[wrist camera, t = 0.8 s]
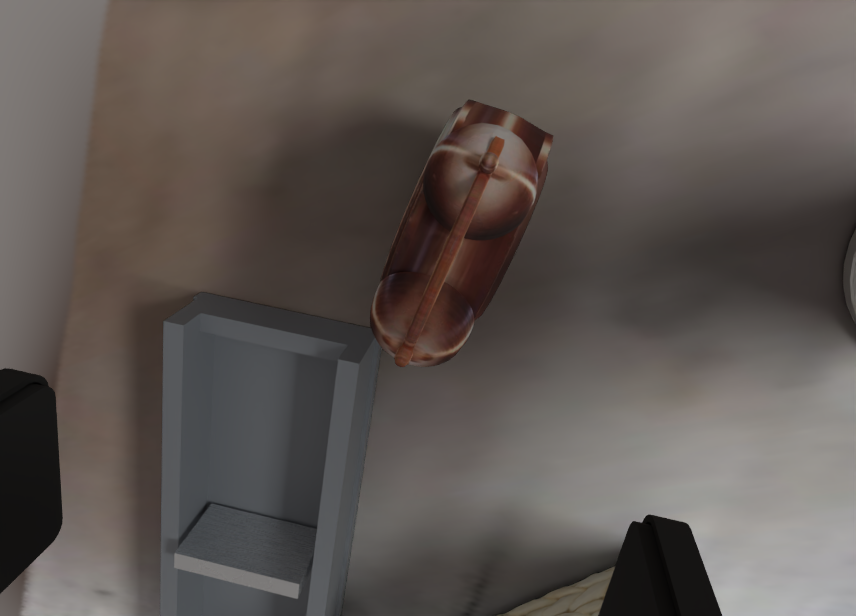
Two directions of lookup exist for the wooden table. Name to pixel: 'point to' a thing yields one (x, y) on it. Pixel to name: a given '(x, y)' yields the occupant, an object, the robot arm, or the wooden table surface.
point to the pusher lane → (263, 442)
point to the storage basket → (569, 599)
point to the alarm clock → (458, 233)
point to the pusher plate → (249, 550)
